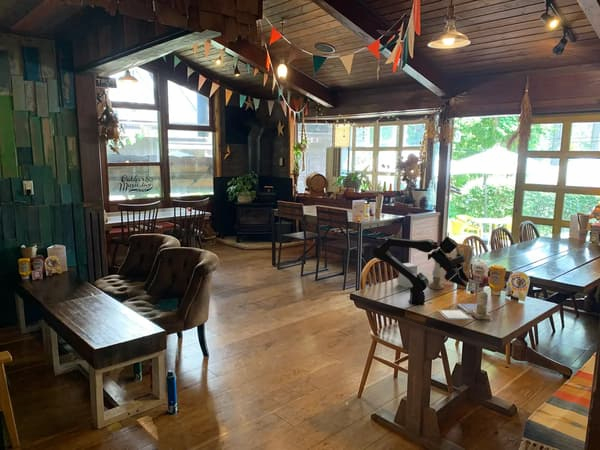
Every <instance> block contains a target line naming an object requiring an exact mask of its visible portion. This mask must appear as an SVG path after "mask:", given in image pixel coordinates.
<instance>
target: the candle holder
mask: <svg viewBox="0 0 600 450" xmlns="http://www.w3.org/2000/svg"><path fill="white" fill-rule="evenodd" d="M434 263H435V264H434V268H433V270H432V272H431V275H432V278H431V279H432V281H431V282H429V286H428V287H427V288H430V289H432V290H444V289H445V286H444V285H443V283H442V282H440V281H441V280H442V278H441V277H442V276H443V272H442V270H441V268H440V267H439V266H440V265H439V264H438V263H437V262H436V261H435V260H434Z"/></svg>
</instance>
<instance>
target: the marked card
mask: <svg viewBox="0 0 600 450" xmlns="http://www.w3.org/2000/svg"><path fill="white" fill-rule="evenodd" d="M437 312H439V313H440V314H441V315H442V316H443V317H444V318H445V319H447V320H473V318H472V317H471V316H470V315H468V313H466V312H465V311H464V310H462V309H437Z"/></svg>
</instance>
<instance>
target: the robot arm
mask: <svg viewBox="0 0 600 450" xmlns="http://www.w3.org/2000/svg"><path fill="white" fill-rule="evenodd" d="M393 247H399V248H407V249H413V250H414V249H415V250H417V251H420V252H423V253H426V254H427V260H428V261H429V260H431V259H432V260H434V261H436V262H437V263H438V264H439V265H440V266H439V267H440V269H441V268H442V269H443V270H444V271H445V274H444V280H445V281H447V282H451V283H453V284H455V285H458V286H461V287H464V288H466V287H467V284H466V283H469V282H470V279H469V278H468V275H467V274H466V272H465V270H464V263H465V262H466V261H467V259H466V256H465V255H464V253H461V252H459V253H456V256H455V257H451V256H448V255H447V254H449V255H450V254H451V253H452V252H454V250H455V249H457V248H458V247H459V244H458V243H457V242H456V240H454V239H452V238H451V237H449V236H448V235H447V236H446V237H445V238H444V239H443V240H442V241H441V242H440V241H439V242H437V241H434V240H433V239H432V238H431V239H430V238H425V239H418V240H416V239H406V238H405V239H404V238H399V237H398V238H397V237H390V238H388V239H387V240H386V241H385V242H384V243H382V244H381V245H379V246H376V247H375V248H374V249H373V250H372V255H373V257H374V258H376V259H377V260H379V261H381V262H384V263H386V264H388V265H389V266H390V267H392V268H393V269H394V270H395V271H397V272H398V273H399V272H400V273H401V274H402V275H403V276H405V277H406V278H407V279H409V281H410V282H411V284H412V285H413V286H412V287H409V293H410V294H409V299H408V302H409V303H410V304H411V306H425V305H426V304H425V302H426V295H425V292H424V291H425V290H426V289H427V288H429V287H428V286H429V284H430V282H429V281H430V280H429V279H428V276H426V275H424V274H423V273H422V272H421V271H420V272H418V273H417V274H416V273H414V272H413V271H411V270H410V269H409V268H408V267H406V266H405V265H404V264H403V262H401V261H400V260H398V258H396V257H394V256H393V255H392V252H391V251H390V249H391V248H393ZM465 282H466V283H465Z"/></svg>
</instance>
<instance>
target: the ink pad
mask: <svg viewBox="0 0 600 450" xmlns="http://www.w3.org/2000/svg"><path fill="white" fill-rule="evenodd" d="M457 307H459V308H460V310H462V311H463V312H465V313H466V314H472V310H476V308H477V303H458V304H457Z"/></svg>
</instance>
